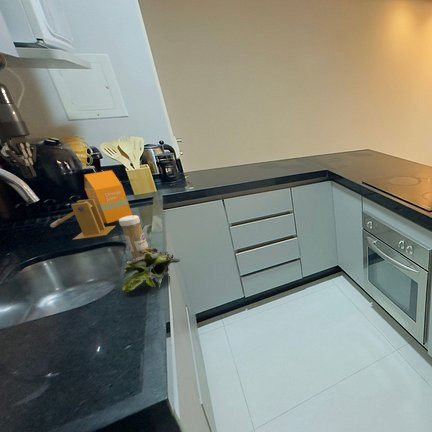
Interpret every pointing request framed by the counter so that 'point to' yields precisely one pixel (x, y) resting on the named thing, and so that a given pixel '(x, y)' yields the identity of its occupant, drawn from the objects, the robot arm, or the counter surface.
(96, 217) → the wooden slotted stand
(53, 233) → the counter surface
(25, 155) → the robot arm
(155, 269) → the green leafy plant
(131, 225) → the sprinkles bottle
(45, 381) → the counter surface
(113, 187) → the orange juice
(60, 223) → the lever
